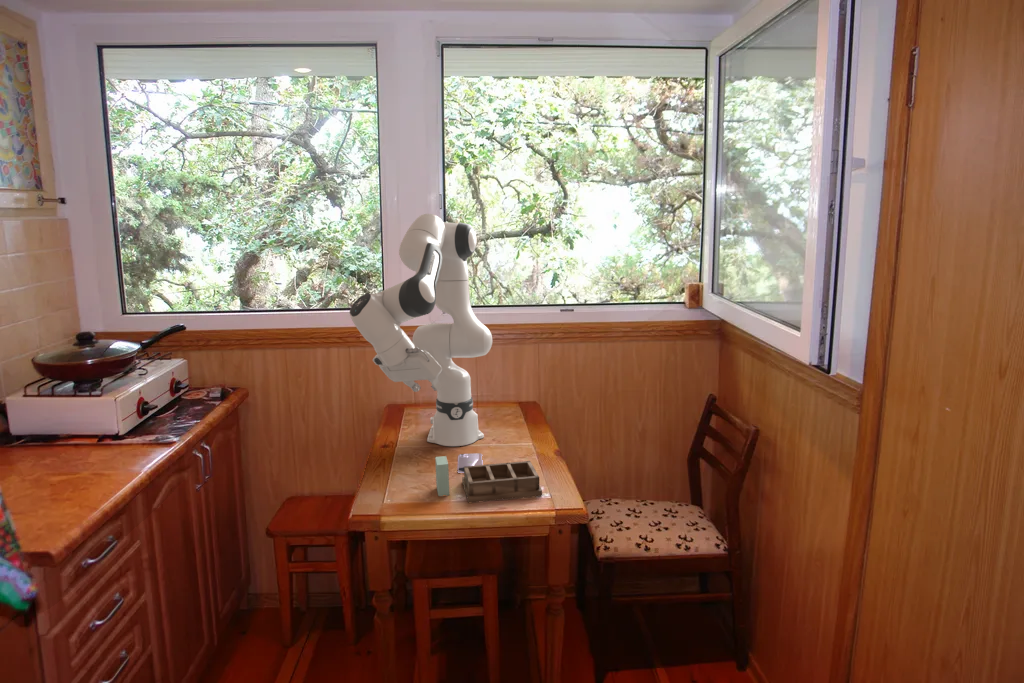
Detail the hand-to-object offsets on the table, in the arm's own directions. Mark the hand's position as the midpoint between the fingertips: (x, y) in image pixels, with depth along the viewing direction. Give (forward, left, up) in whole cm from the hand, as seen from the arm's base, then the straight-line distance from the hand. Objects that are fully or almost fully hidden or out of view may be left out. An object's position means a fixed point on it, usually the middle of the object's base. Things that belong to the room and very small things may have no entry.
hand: (428, 389), depth 188 cm
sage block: (-2, +3, -30) cm, 30 cm away
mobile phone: (-20, +13, -30) cm, 38 cm away
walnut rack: (0, +19, -30) cm, 35 cm away
